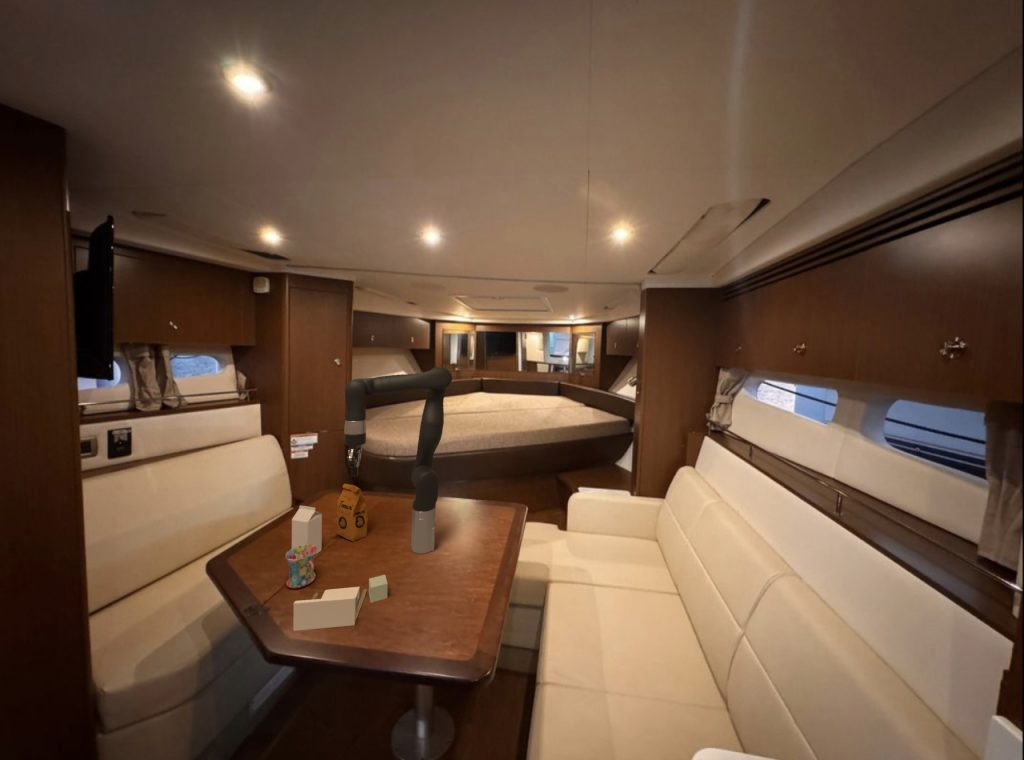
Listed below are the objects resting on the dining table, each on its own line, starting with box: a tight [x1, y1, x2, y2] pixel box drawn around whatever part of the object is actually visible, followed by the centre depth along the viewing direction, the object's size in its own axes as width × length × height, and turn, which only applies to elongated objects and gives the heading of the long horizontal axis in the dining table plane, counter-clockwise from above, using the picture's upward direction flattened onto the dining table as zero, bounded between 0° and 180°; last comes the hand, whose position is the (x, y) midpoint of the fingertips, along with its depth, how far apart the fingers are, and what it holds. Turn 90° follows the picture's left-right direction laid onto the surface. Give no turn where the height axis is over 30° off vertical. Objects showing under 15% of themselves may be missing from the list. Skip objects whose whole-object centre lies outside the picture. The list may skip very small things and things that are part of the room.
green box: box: [368, 574, 389, 604], centre depth 108 cm, size 5×5×5 cm
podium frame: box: [310, 588, 368, 622], centre depth 102 cm, size 16×13×1 cm
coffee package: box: [336, 483, 369, 543], centre depth 144 cm, size 10×12×22 cm
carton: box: [320, 586, 361, 610], centre depth 101 cm, size 10×8×4 cm
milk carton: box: [291, 505, 323, 556], centre depth 129 cm, size 7×7×19 cm
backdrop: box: [292, 596, 356, 632], centre depth 95 cm, size 16×1×8 cm, turn 100°
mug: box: [284, 545, 317, 589], centre depth 112 cm, size 12×9×11 cm
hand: (354, 476), depth 127 cm, fingers closed
